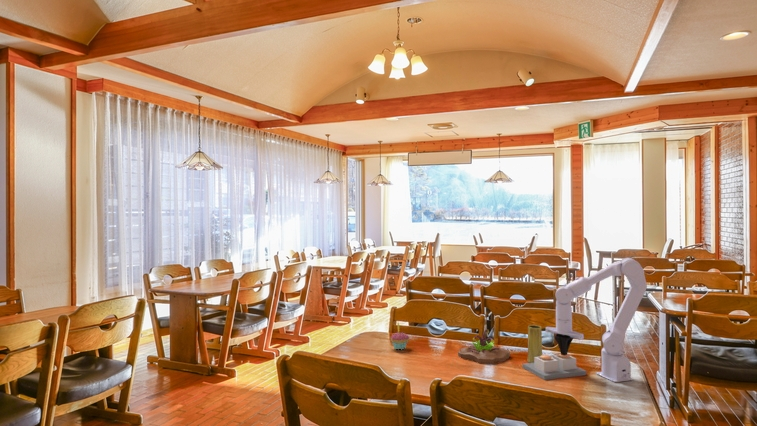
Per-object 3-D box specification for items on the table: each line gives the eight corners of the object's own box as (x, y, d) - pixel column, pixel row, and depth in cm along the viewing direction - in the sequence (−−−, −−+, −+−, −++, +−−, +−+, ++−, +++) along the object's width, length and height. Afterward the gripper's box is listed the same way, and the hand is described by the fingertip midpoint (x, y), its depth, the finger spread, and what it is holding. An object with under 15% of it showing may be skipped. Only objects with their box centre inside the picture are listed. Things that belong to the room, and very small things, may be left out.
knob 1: (553, 370, 171) (553, 357, 171) (544, 371, 170) (544, 358, 170) (547, 366, 175) (547, 354, 175) (538, 367, 174) (538, 355, 174)
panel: (586, 375, 170) (586, 360, 170) (544, 379, 166) (544, 364, 166) (562, 363, 184) (561, 349, 184) (522, 367, 179) (522, 353, 179)
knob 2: (571, 368, 173) (571, 355, 174) (563, 368, 172) (563, 356, 173) (565, 364, 177) (565, 352, 177) (556, 365, 176) (556, 353, 176)
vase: (525, 362, 185) (525, 327, 185) (528, 358, 190) (528, 324, 191) (541, 364, 182) (541, 329, 182) (544, 360, 188) (543, 325, 188)
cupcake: (387, 347, 208) (387, 321, 208) (403, 345, 212) (403, 319, 212) (396, 352, 200) (395, 325, 200) (413, 350, 204) (412, 323, 204)
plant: (518, 357, 194) (517, 330, 194) (490, 367, 181) (490, 339, 181) (479, 347, 209) (478, 322, 209) (451, 356, 196) (451, 329, 196)
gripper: (587, 320, 172) (588, 357, 172) (552, 314, 183) (552, 348, 183) (577, 323, 167) (578, 360, 167) (542, 316, 179) (542, 351, 179)
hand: (564, 354), depth 175 cm, fingers closed, pressing on knob 2
